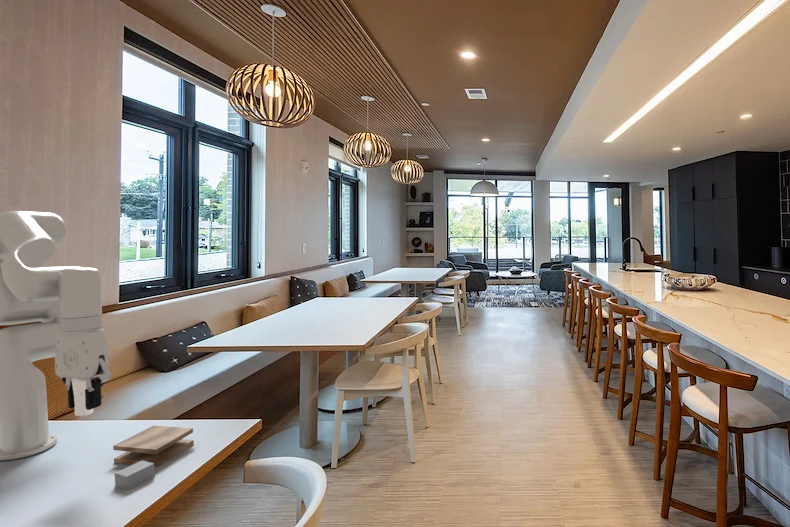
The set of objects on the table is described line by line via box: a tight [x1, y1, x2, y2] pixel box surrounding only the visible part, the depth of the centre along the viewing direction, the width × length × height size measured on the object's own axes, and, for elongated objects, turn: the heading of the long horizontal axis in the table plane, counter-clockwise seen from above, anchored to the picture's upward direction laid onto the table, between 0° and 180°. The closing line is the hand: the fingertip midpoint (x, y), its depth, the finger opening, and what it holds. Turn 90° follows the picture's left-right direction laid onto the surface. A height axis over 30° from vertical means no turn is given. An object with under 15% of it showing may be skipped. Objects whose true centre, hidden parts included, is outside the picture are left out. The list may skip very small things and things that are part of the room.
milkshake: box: [71, 378, 96, 417], centre depth 95 cm, size 4×5×10 cm
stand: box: [112, 425, 195, 468], centre depth 106 cm, size 12×12×4 cm
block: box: [114, 460, 155, 491], centre depth 92 cm, size 4×6×3 cm, turn 154°
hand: (85, 405), depth 95 cm, fingers closed on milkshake, 4 cm apart
